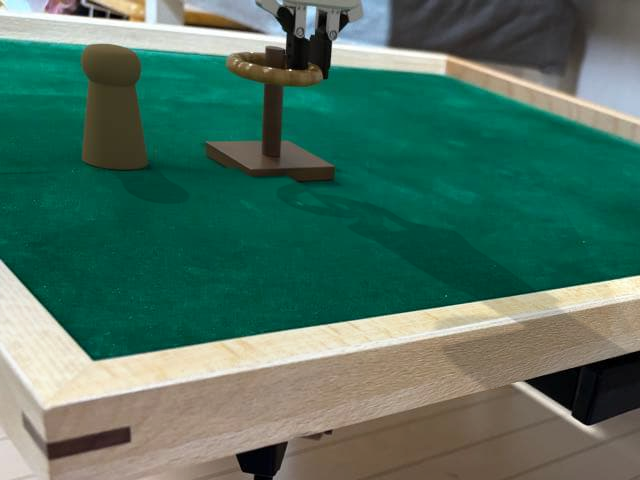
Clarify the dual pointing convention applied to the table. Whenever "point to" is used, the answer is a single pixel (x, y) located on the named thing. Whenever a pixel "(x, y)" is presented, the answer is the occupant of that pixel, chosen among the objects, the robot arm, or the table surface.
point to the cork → (112, 108)
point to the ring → (271, 71)
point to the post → (271, 141)
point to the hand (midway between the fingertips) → (307, 74)
